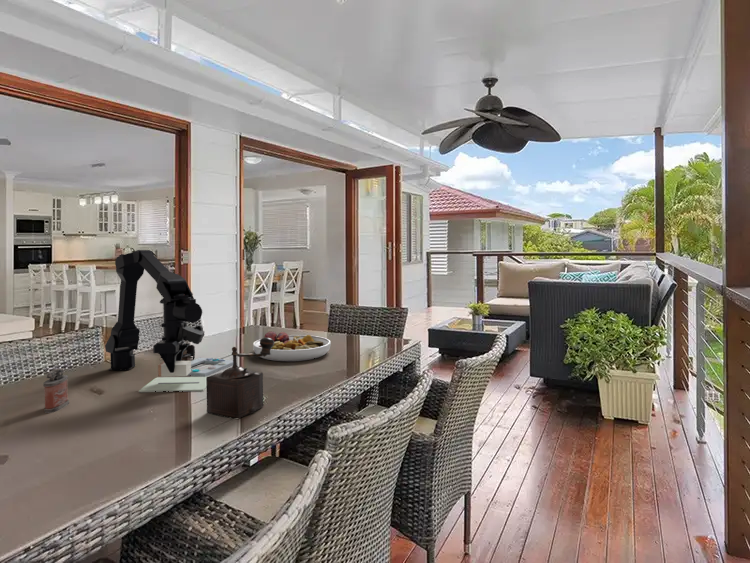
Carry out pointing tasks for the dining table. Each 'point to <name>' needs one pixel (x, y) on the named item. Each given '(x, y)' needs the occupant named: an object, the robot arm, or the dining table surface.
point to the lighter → (55, 391)
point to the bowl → (294, 347)
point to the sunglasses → (190, 351)
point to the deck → (180, 369)
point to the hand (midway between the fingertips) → (174, 370)
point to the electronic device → (208, 371)
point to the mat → (175, 384)
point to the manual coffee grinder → (237, 387)
